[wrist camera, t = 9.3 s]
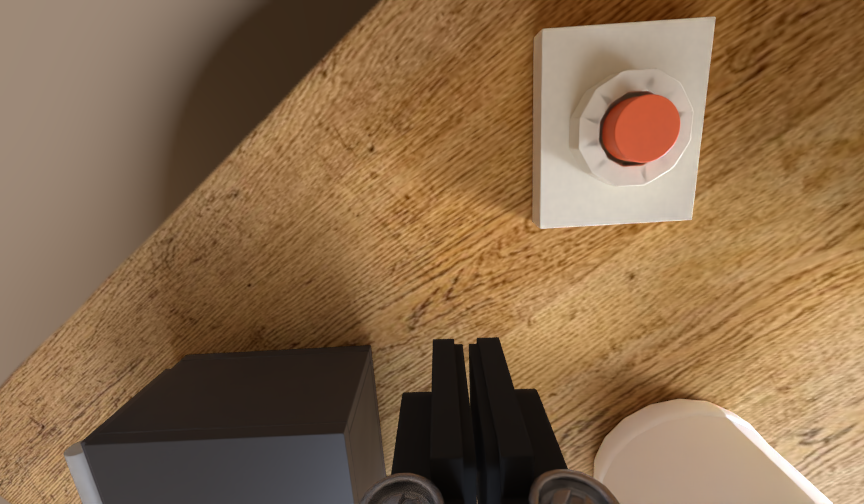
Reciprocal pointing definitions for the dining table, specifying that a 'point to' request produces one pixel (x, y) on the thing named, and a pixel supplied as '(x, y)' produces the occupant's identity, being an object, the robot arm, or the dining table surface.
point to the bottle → (696, 460)
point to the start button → (641, 128)
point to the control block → (588, 108)
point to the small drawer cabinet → (247, 432)
